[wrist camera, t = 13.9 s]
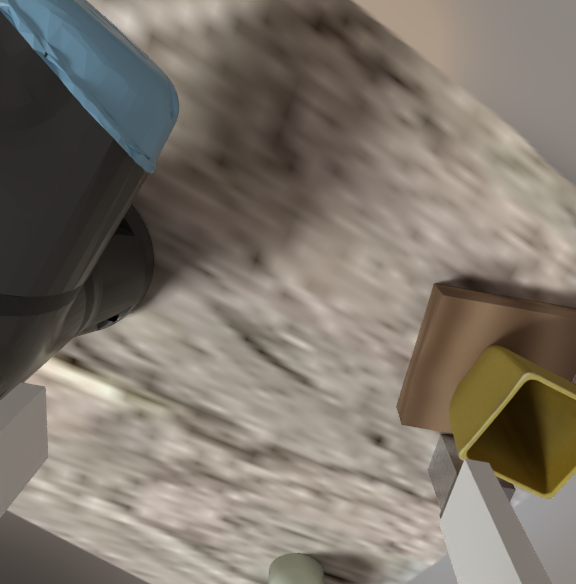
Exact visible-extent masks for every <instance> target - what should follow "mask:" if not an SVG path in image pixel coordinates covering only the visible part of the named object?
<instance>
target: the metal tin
mask: <svg viewBox="0 0 576 584" xmlns="http://www.w3.org/2000/svg"><path fill="white" fill-rule="evenodd" d="M463 462H464V461H463V460H461V459H460V458H459V455H458V451H457V447H456V443H455V439H454V436H449V435H443V434H441V435H440V438H439V440H438V443H437V446H436V448H435V451H434V454H433V457H432V459H431V462H430V465H429V468H428V473H429V476H430V479H431V482H432V485H433V488H434V491H435V494H436V497H437V500H438V503H439V506H440V509H441V513H440V518H442V515H443V513H444V510H445V508H446V505H447V503H448V500H449V497H450V495H451V492H452V490H453V487H454V485H455V482H456V480H457V477H458V475H459V472H460V470H461V467H462V465H463ZM496 477H497V476H496ZM497 479H498V481H499V483H500V485H501V487H502V489H503V491H504V493H505V495H506V496H507V498H508V500H509V502H510V500H511V498H512V496H513V494H514V492H515V490H516V489H515V488H514V486H513V484H512V483H509V482H508V481H506V480H504V479H501V478H499V477H497Z"/></svg>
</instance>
